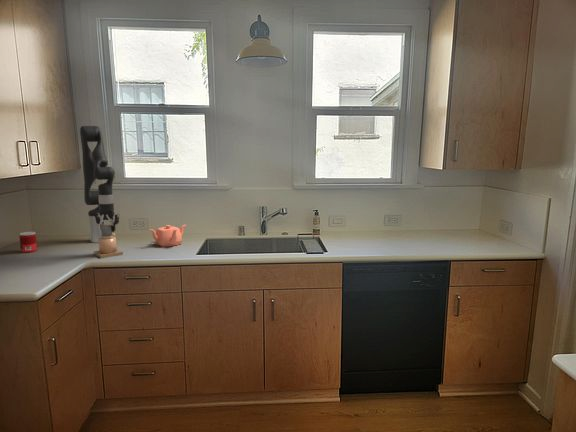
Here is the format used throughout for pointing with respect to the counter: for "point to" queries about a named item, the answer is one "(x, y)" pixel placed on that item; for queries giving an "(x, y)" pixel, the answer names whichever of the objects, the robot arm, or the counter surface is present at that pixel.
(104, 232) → the cap
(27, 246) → the canned food
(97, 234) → the robot arm
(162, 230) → the pot
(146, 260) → the counter surface
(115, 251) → the canister
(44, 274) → the counter surface
